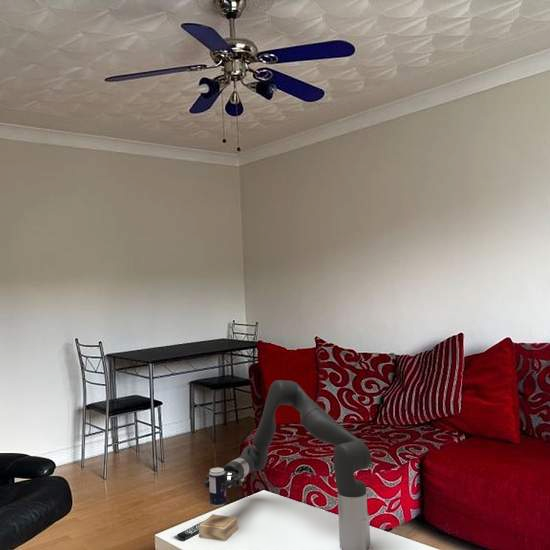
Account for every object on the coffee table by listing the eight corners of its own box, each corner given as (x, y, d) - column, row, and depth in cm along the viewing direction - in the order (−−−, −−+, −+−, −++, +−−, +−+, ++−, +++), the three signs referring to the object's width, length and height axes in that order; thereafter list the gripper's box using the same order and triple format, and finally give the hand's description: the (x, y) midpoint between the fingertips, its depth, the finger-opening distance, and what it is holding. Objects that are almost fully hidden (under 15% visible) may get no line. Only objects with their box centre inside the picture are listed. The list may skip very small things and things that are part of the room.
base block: (238, 529, 200) (237, 516, 201) (225, 540, 191) (224, 527, 191) (213, 525, 204) (212, 513, 204) (199, 537, 195) (198, 524, 195)
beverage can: (223, 507, 195) (222, 472, 195) (207, 507, 196) (206, 472, 196) (228, 501, 200) (227, 467, 201) (212, 500, 202) (211, 466, 202)
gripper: (218, 459, 214) (195, 473, 199) (252, 462, 209) (232, 477, 193) (218, 479, 214) (196, 495, 199) (253, 483, 209) (233, 499, 193)
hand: (214, 486), depth 196 cm, fingers closed on beverage can, 5 cm apart
